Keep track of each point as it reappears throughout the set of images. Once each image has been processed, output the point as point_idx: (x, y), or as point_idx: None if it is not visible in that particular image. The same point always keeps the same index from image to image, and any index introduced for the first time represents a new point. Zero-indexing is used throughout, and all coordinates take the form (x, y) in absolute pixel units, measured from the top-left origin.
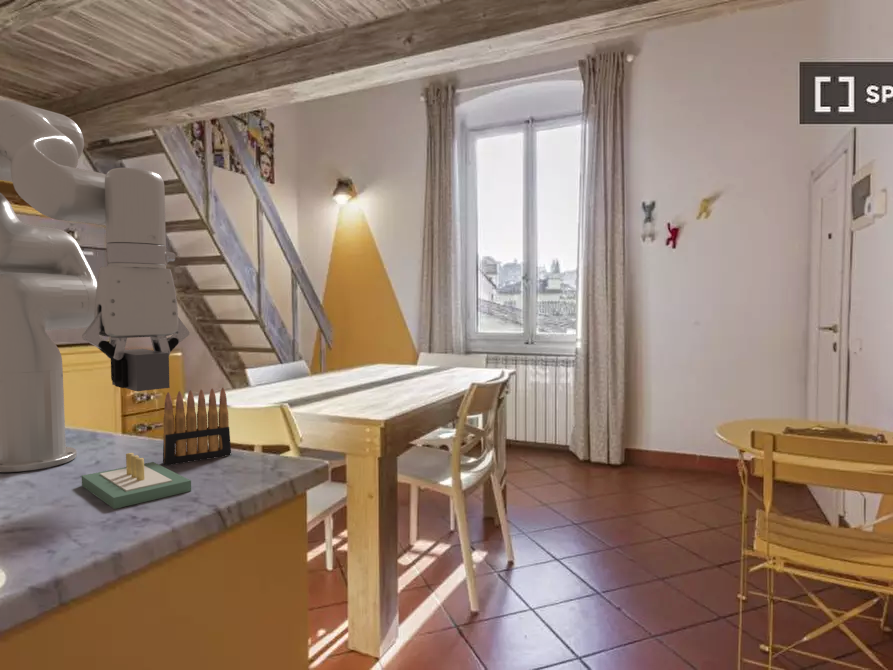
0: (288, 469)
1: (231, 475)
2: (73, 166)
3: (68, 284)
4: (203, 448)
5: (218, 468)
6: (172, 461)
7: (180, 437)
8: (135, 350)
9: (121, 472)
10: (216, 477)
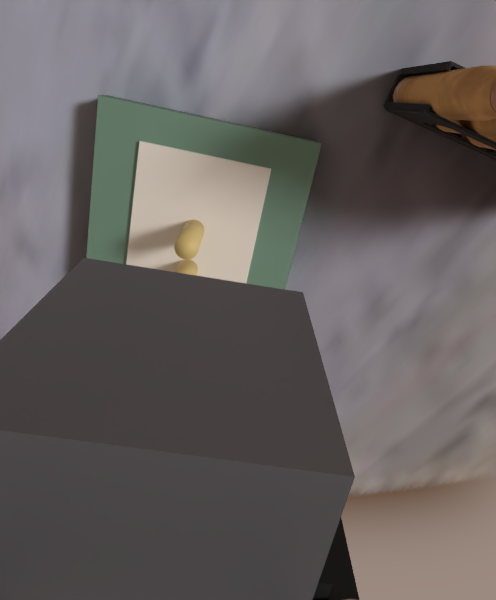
0: (493, 435)
1: (392, 364)
2: None
3: None
4: None
5: (429, 285)
6: (406, 118)
7: (467, 134)
8: (162, 583)
9: (185, 192)
10: (361, 347)
